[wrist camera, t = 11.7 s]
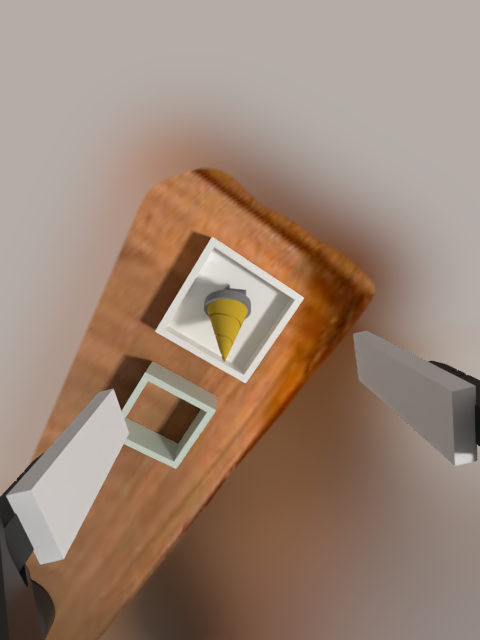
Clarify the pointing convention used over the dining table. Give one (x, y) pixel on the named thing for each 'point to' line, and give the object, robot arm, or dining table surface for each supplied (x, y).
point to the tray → (256, 331)
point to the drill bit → (227, 315)
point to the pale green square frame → (155, 442)
